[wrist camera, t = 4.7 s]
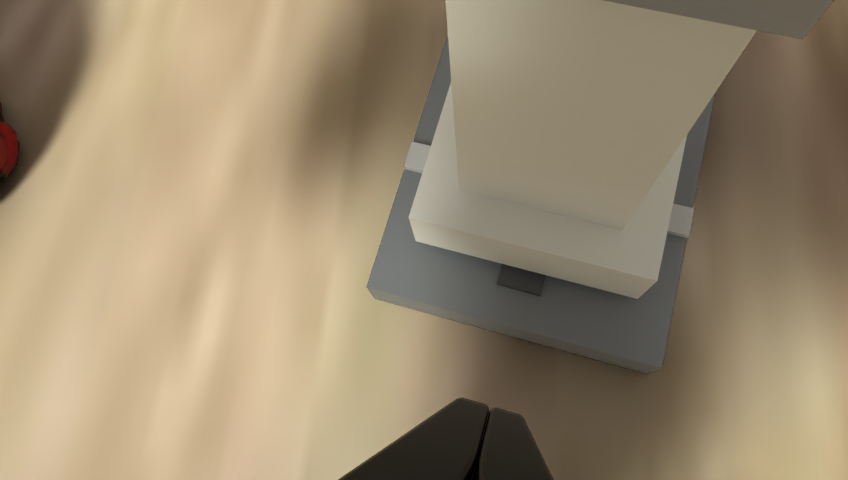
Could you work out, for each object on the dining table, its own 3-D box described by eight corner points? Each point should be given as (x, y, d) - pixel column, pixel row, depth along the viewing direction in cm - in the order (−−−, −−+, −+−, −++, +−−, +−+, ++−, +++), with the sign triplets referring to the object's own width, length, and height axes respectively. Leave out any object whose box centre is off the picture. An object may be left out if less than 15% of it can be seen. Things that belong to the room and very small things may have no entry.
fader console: (647, 374, 19) (664, 367, 17) (374, 298, 20) (365, 285, 18) (750, -145, 23) (771, -188, 22) (526, -180, 25) (529, -224, 23)
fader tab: (637, 298, 17) (917, 42, 6) (415, 241, 18) (320, -73, 7) (673, 128, 19) (958, -334, 8) (464, 82, 20) (447, -390, 9)
